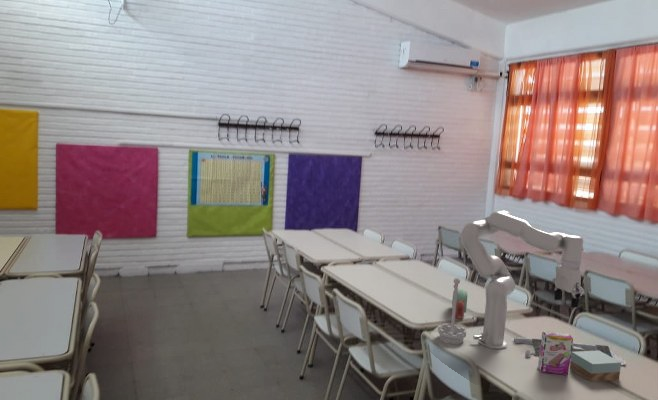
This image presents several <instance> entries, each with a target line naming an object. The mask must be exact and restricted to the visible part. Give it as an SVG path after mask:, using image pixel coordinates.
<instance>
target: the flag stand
mask: <svg viewBox="0 0 658 400" xmlns="http://www.w3.org/2000/svg"><path fill="white" fill-rule="evenodd" d="M460 283H461V280H460V279H459V278H458V277H456V278H454V279H453V284H454V285H453V289H454V290H453V291H454V299H453V298H452V299H453V309H452V310H451V322H450V325H449V324H448V323H442V325H438V326H437V327H438V328H437V333H438V334H439V340H441V341H442V340H443V341H442V342H444V341H445V342H444V343H446V342H447V344H450V343H451V344H452V345H459V344H460V343H461V344H463V343H462V342H464V339H465V338H466V337H467V330H466V328H465V327H464V326H460V327H458V324H456V323H455V322H456V318H455V313H456V302H457V292H458V289H459V284H460Z"/></svg>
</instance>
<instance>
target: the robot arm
mask: <svg viewBox="0 0 658 400" xmlns="http://www.w3.org/2000/svg"><path fill="white" fill-rule="evenodd" d="M498 232H501V233H504V234H507V235H509V236H512V237H515V238H517V239H519V240H521V241H522V242H524V243H526V244H528V245H530V246H532V247H534V248H537V249H540V250H543V251H546V252H555V251H557V250H562V251H561V259H560V264H559V266H558V268H557V271H556V275H555V278H552V286H553V287H554V289H553V290H554V291H555V292H554V300H555V301H561V300H562V297H563V291H564V292H567V293H571V296H572V297H571V303H570V307H571V308H578V307H579V302H580V299H581V297H583V296H584V293H585V291H586V290H585V289H584V287H582V283H581V282H582V281H581V280H582V271H581V264H582V263H581V262H582V254H583V246H584V239H583V237H582V236H580V235H573V234H565V233H563V232H559V231H552V232H545V231H542V230H539V229H537V228H535V227H533V226H531V225H530V224H529V222H528V221H527V220H525V219H522V218H520V217H516V216H513V215H512V213H510V212H509V211H507V210H497V211H493V212H491V213H490V214H489V216H486V217H484V218H482V219H478V220H473V221H469V222H468V223H467V224H465V225H464V226H463V228H462V230H461V233H460V240H461V245H462V246H463V248H464V250H465V251H466V253H467V254H468V257H469V258H470V260H471V262H472V264H473V266H474V267H475V270H476V271H477V273H478V274H479V275H480V276H481V277H482V278H484V279H486V278H487V279H488V278H490V279H491V280H489V281H488V283H487V284H486V286H485V308H484V309H485V310H484V320H483V327H482V328H483V331H482V332H480V334H479V335H478V334H477V335H476V334H473V336H472V338H473V340H474V341H476V340H478V342H479V344H480V345H482V346H484V347H485V348H486V347H487V348H488V349H489V348H490V349H495V350H496V349H497V350H502V349H504V348H505V349H506V348H507V345H508V344H507V342H506V341H505V339H504V338H505V330H506V322H507V314H508V313H507V311H508V301H507V298H508V296H509V295H511V294H513V292H514V291H515V290H516V289H515V288H516V283H515V280H514V278H513V277H512V275H511V272H509V271H510V270H508V268H507V266H506V264H505V263H504V261H503V260H502V259H501V258H500V257H499V256H497V255H494V254H493V255H490V254H489V251H488V250H487V248H486V246H484V244H483V243H482V242H481V240H480V239H481V238H484V237H488V236H490V235H493V234H495V233H498Z"/></svg>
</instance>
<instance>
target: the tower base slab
mask: <svg viewBox="0 0 658 400" xmlns="http://www.w3.org/2000/svg"><path fill="white" fill-rule="evenodd" d="M569 369H570V370H572V371H573V372H575V373H576V374H577V375H580V376H582V377H583V378H584V379H586V380H587V381H589V382H590V383H591V382H592V383H593V382H607V381H618V380H619V381H620V373H621V371H620V372H609V373H593V374H591V373H590V372H588V371H587V370H585V369H583V368H582V367H580V366H578V365H577V364H575V363H573V362H572V361H571V360H570V364H569Z"/></svg>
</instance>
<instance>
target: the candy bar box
mask: <svg viewBox="0 0 658 400" xmlns="http://www.w3.org/2000/svg"><path fill="white" fill-rule="evenodd" d="M573 340H574V338H573V337H572V335H570V333H563V332H562V333H561V332H554V331H544V330H542V333H541V347H540V354H539V356H538V362H537V363H538V364H537V368H538V370H539V371H540V373H546V374H553V375H555V374H556V375H563V376H564V375H565V376H568V375H569V369H570V362H571V359H570V357H571V350H572V343H574V341H573Z"/></svg>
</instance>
